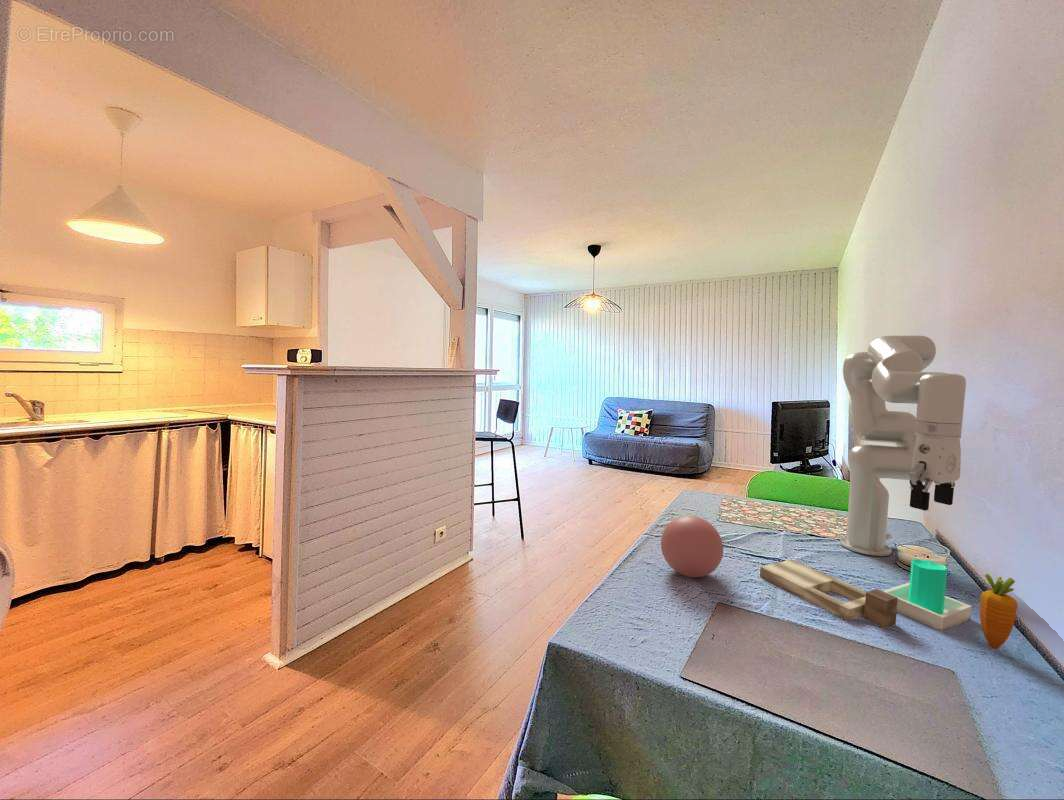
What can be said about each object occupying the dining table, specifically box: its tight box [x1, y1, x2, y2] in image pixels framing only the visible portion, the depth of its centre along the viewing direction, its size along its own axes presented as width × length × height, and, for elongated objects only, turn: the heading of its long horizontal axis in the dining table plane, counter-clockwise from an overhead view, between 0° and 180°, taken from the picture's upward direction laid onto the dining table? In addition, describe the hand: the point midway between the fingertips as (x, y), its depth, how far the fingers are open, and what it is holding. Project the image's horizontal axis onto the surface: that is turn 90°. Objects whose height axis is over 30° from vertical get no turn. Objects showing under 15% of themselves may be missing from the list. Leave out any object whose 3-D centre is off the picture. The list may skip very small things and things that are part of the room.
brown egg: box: [660, 515, 724, 578], centre depth 118 cm, size 15×20×15 cm
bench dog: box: [863, 588, 898, 629], centre depth 96 cm, size 4×4×6 cm
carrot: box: [979, 573, 1018, 650], centre depth 87 cm, size 5×5×15 cm
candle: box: [908, 557, 948, 615], centre depth 100 cm, size 6×6×12 cm
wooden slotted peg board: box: [759, 558, 867, 621], centre depth 109 cm, size 12×22×2 cm, turn 24°
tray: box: [882, 581, 973, 632], centre depth 101 cm, size 12×12×3 cm
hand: (931, 505), depth 99 cm, fingers open, 9 cm apart
